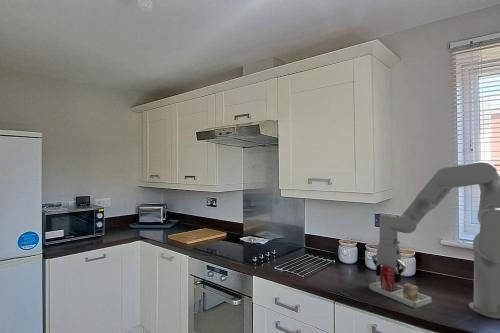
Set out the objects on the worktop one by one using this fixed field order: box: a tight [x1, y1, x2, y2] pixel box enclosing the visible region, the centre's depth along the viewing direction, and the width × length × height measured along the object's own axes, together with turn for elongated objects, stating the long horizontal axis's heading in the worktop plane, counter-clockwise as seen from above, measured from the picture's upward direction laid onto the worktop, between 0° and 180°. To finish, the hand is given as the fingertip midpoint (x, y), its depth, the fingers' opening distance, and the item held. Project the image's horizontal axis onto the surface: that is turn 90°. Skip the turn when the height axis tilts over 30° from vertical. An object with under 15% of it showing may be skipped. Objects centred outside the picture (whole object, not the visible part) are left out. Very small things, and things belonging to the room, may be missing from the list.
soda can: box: [380, 265, 399, 292], centre depth 138 cm, size 7×7×12 cm
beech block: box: [402, 283, 419, 302], centre depth 129 cm, size 4×4×6 cm
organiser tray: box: [368, 280, 433, 309], centre depth 133 cm, size 22×12×2 cm, turn 29°
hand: (388, 278), depth 138 cm, fingers open, 9 cm apart
